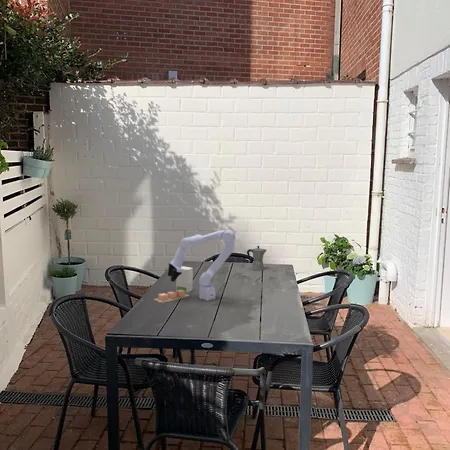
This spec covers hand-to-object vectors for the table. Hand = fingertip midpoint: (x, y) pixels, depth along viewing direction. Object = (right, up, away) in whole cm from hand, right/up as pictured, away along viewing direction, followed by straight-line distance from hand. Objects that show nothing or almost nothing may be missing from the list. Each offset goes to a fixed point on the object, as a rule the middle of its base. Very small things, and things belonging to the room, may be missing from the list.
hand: (170, 278), depth 278 cm
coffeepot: (+55, -2, +78) cm, 96 cm away
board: (+1, -12, -3) cm, 13 cm away
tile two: (+1, -11, -3) cm, 12 cm away
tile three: (-3, -12, -7) cm, 14 cm away
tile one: (+5, -11, +1) cm, 12 cm away
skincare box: (+7, -10, +14) cm, 19 cm away
